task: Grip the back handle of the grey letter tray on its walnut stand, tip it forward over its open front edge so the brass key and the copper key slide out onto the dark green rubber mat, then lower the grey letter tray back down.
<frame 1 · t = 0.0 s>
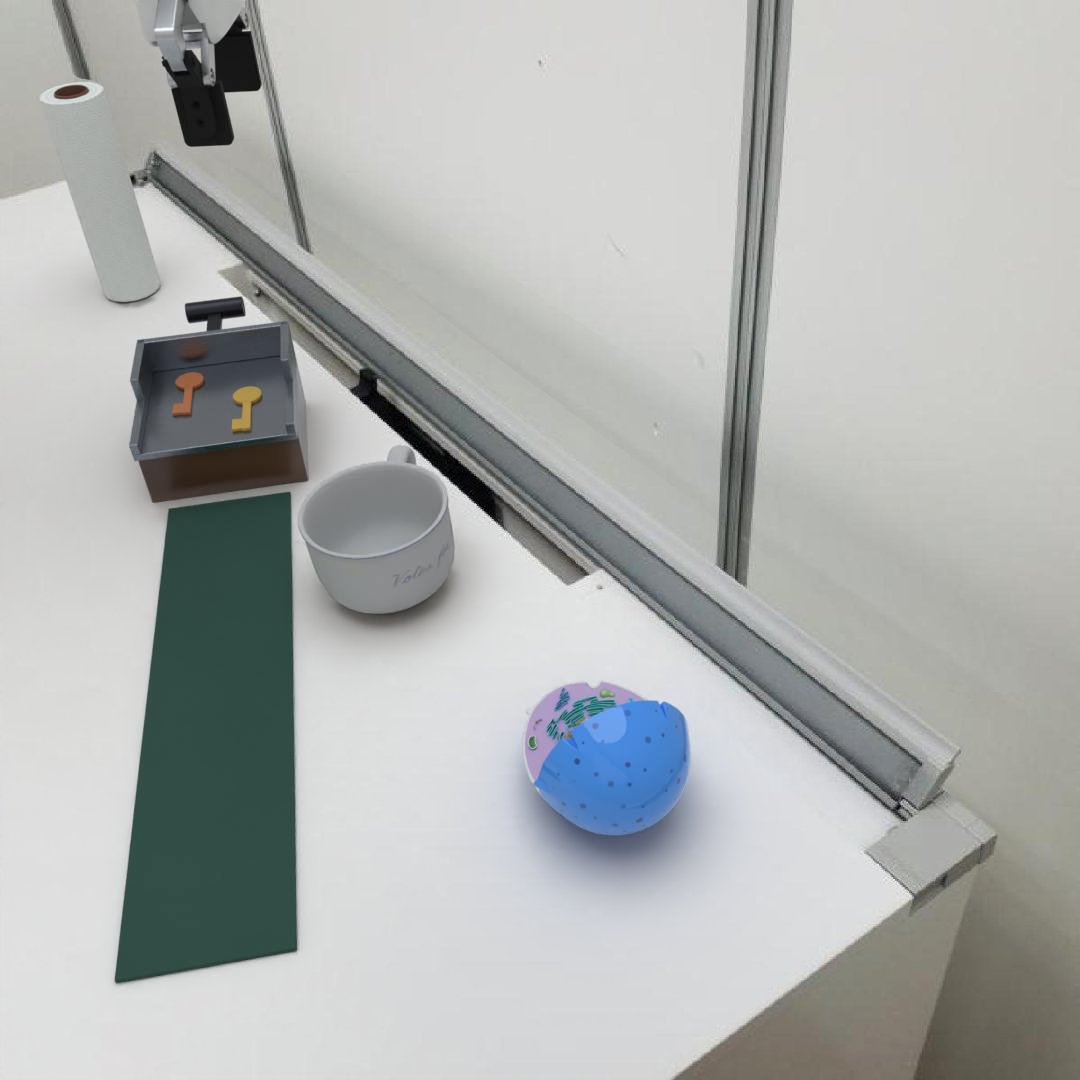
hand: (226, 116, 80), 30 cm above the table, tool pointing down, fingers open, 9 cm apart
paper towel roll: (136, 288, 125), on the table
stand: (232, 453, 101), on the table
mat: (221, 689, 80), on the table
copper key: (189, 394, 98), point 6 cm above the table, touching grey letter tray
brass key: (247, 409, 96), point 6 cm above the table, touching grey letter tray
cell model: (602, 792, 72), on the table
grey letter tray: (214, 369, 98), point 7 cm above the table, hinge at 0.0°, touching brass key, copper key
teacup: (396, 572, 88), on the table
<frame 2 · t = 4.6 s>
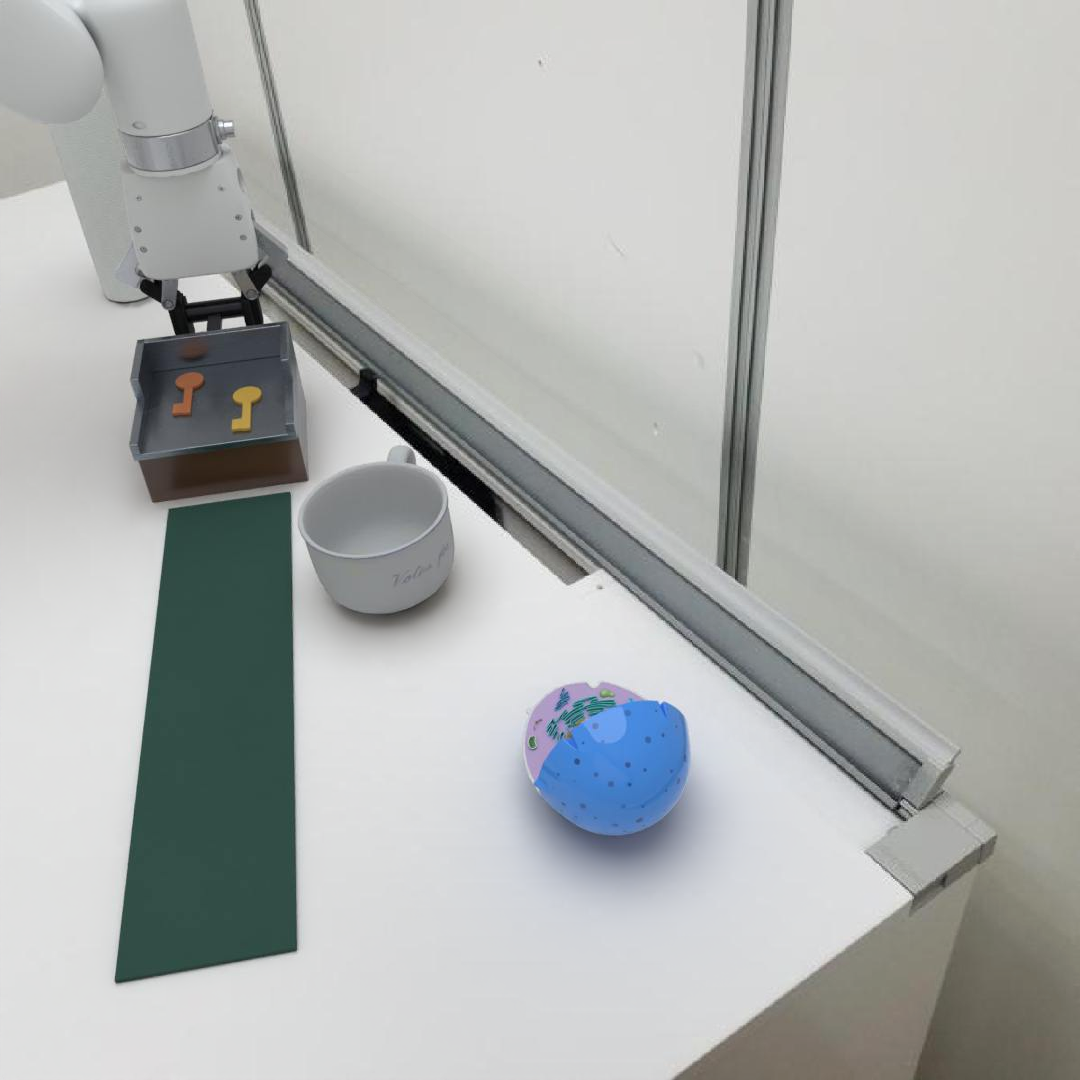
hand: (222, 334, 105), 6 cm above the table, tool pointing down, fingers closed on grey letter tray, 5 cm apart
grey letter tray: (214, 369, 98), point 7 cm above the table, hinge at 0.0°, touching brass key, copper key, gripper
everything else where it was.
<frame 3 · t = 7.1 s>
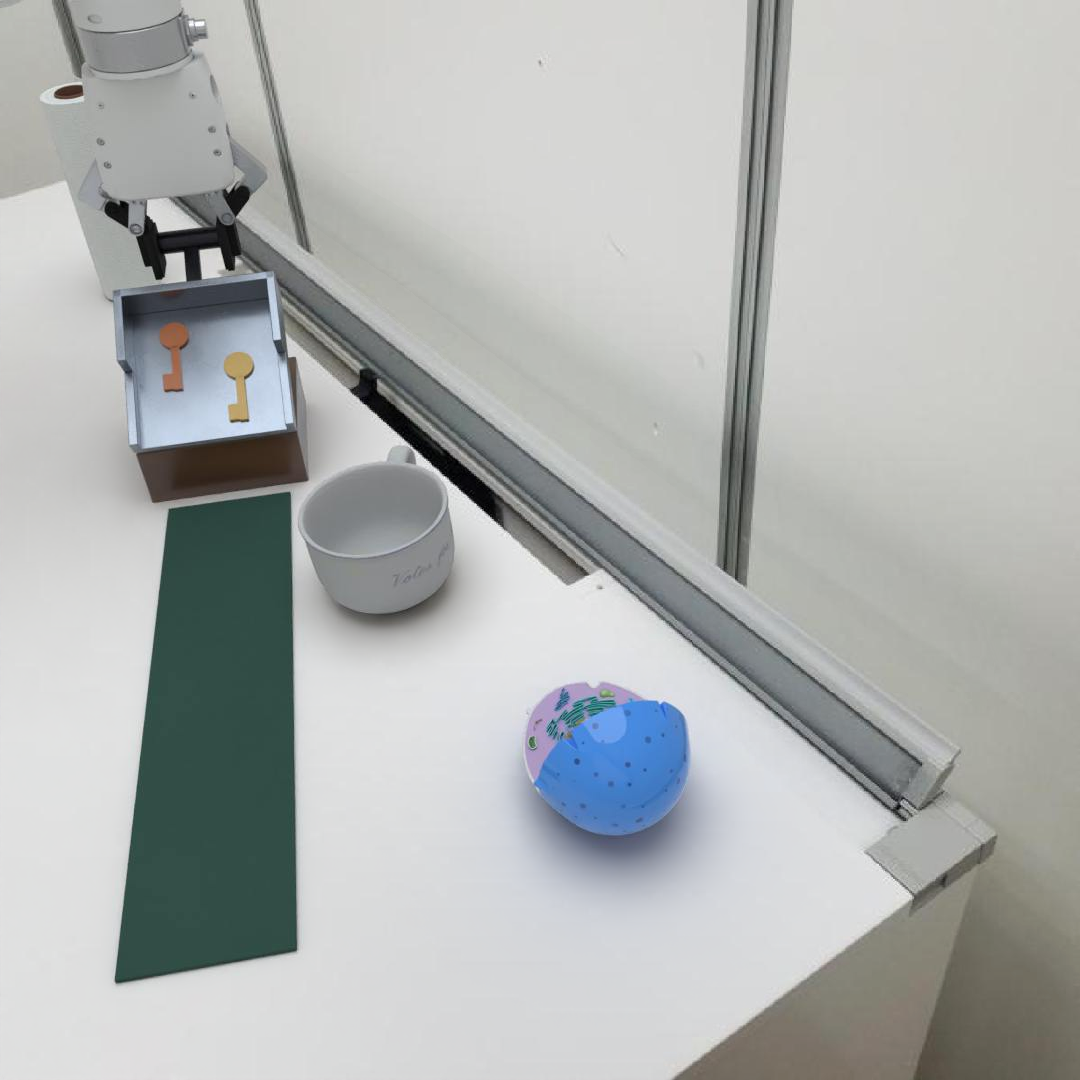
hand: (195, 265, 96), 15 cm above the table, tool pointing down, fingers closed on grey letter tray, 5 cm apart
copper key: (176, 356, 95), point 10 cm above the table, tilted 30°, touching grey letter tray
brass key: (241, 385, 94), point 8 cm above the table, tilted 30°, touching grey letter tray
grey letter tray: (201, 332, 94), point 12 cm above the table, hinge at 30.3°, touching brass key, copper key, gripper
everything else where it was.
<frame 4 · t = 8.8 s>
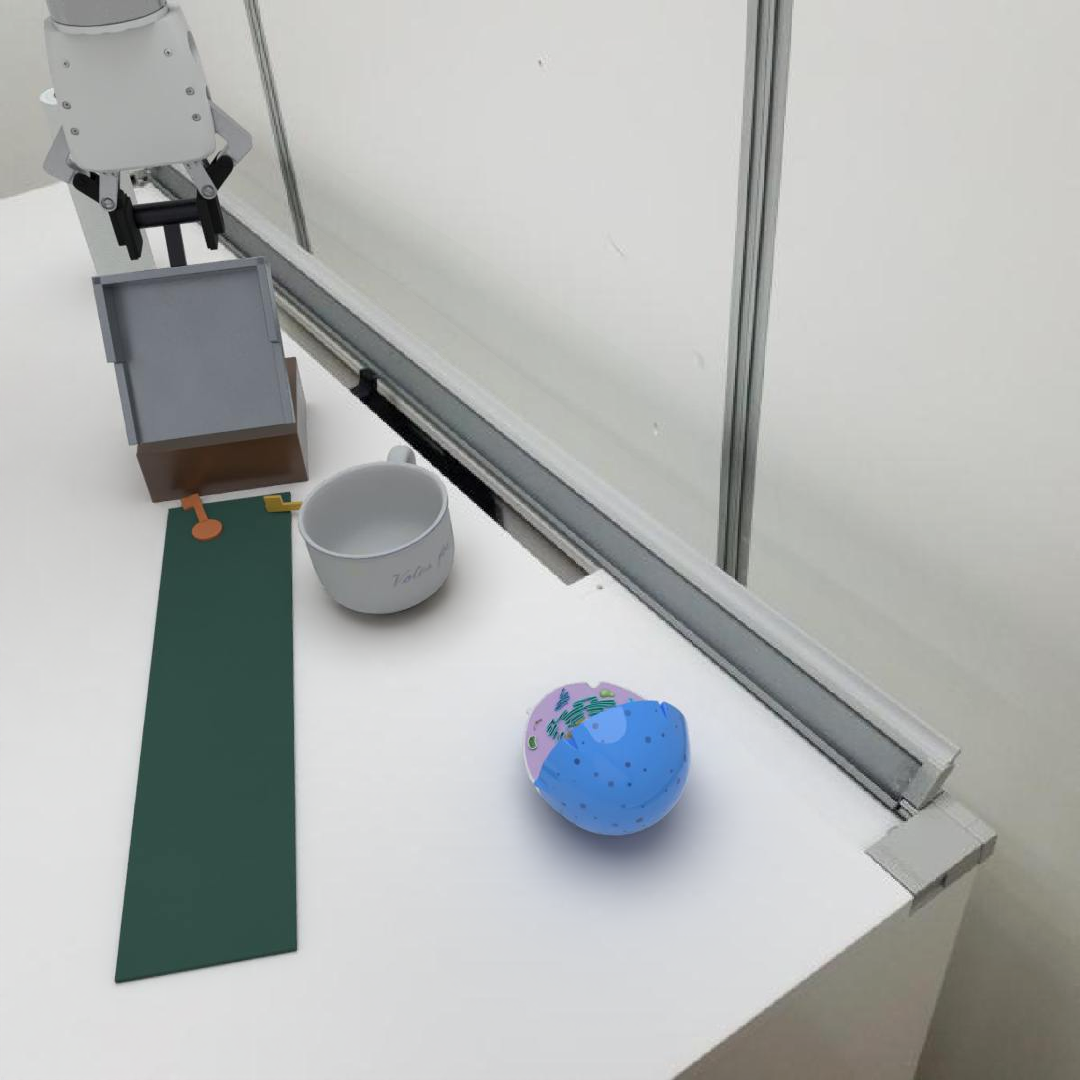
hand: (175, 244, 88), 20 cm above the table, tool pointing down, fingers closed on grey letter tray, 5 cm apart
copper key: (201, 516, 93), point 1 cm above the table, tilted 180°, touching mat
brass key: (304, 504, 93), point 1 cm above the table, tilted 90°, touching mat
grey letter tray: (190, 320, 90), point 14 cm above the table, hinge at 57.2°, touching gripper
everything else where it was.
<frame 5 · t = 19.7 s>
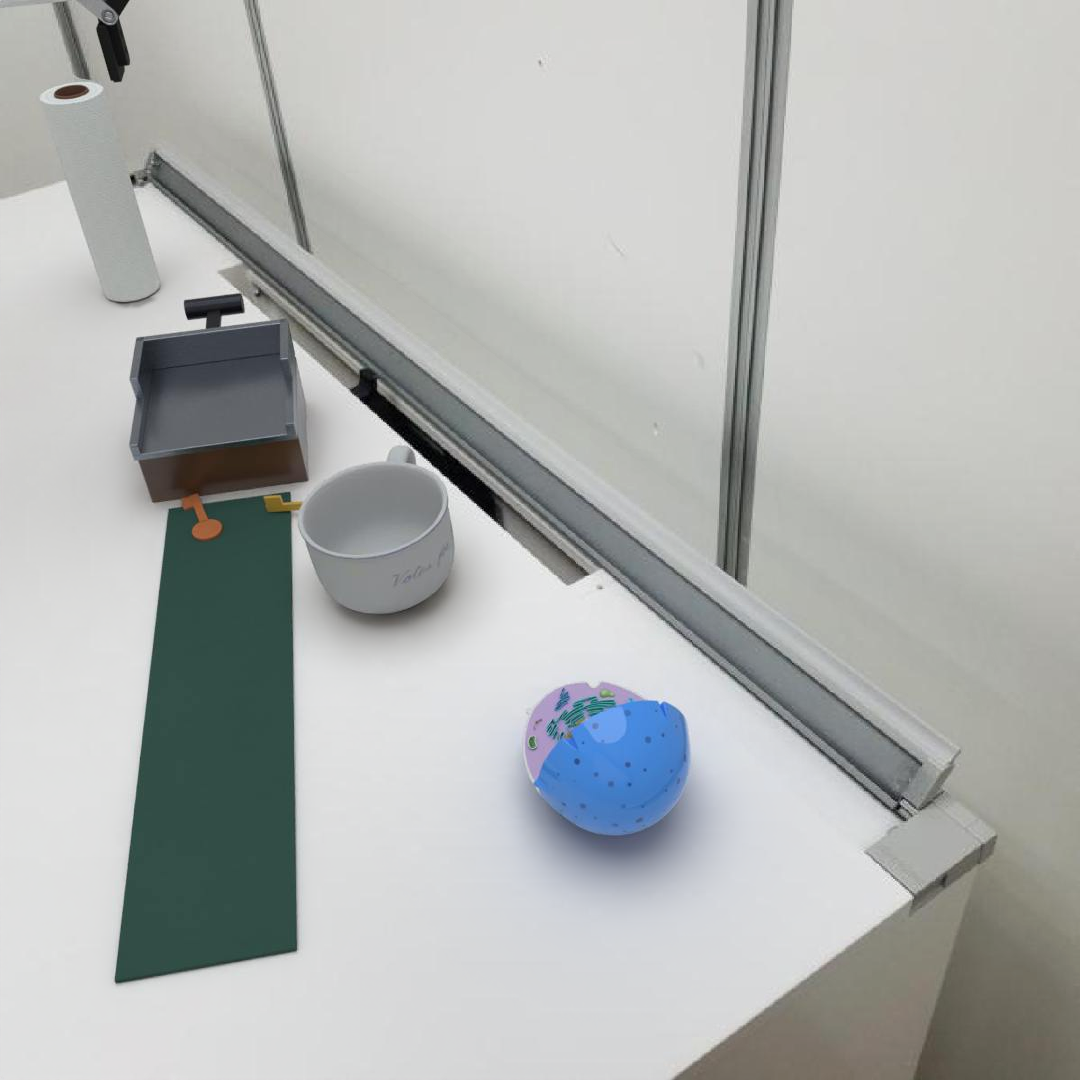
hand: (52, 83, 86), 30 cm above the table, tool pointing down, fingers open, 9 cm apart
grey letter tray: (214, 367, 98), point 7 cm above the table, hinge at 1.2°
everything else where it was.
at the end: grey letter tray reached +65° during the clip, +1° at the end; brass key inside the target area on the mat (18.6 cm from its centre), point 1.0 cm above the mat's base; copper key inside the target area on the mat (18.6 cm from its centre), point 0.6 cm above the mat's base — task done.
